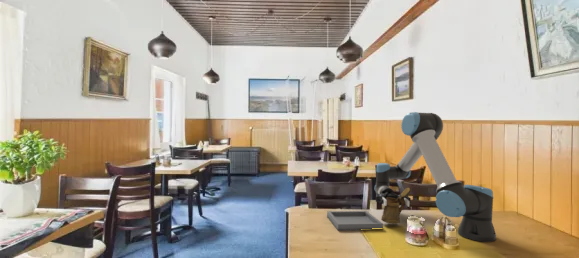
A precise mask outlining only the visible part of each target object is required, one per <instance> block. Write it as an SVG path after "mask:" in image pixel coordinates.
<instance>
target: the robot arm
mask: <svg viewBox="0 0 579 258" xmlns="http://www.w3.org/2000/svg"><path fill="white" fill-rule="evenodd" d="M400 125H401V131H402V133H403V134H404V135H405V136H409V137H410V138H411V141H412V142H413V143H412V144H411V145H410V146H409V148H408V150H407V151H406V152H405V154H404V156H402V158H401V159H400V161H399V162H398V163H397V165H395V166H393V165H392V166H391V165H390V164H389V163H384V162H380V163H379V162H378V163H377V164H376V169H375V175H376V176H375V178H376V181H375V185H374V191H375V202H376V203H379V204H380V205H381V204H383V205H384V207H385V206H387V200H386V198H395V199H397V198H400V197H401V193H399V194H397V193H395V191H394V189H392V188H391V187H390V182H391V181H390V180H403V179H408V178H410V176H411V174H412V170H411V169H412V168H413V167H414V166H415V164H416V163H417V162H418V161H419V159H420V158H421V157H423V159H424V161H425V163H426V165H427V167H428V169H429V172H430V174H431V176H432V178H433V180H434V182H435V185H436V186H437V188H436V190H435V192H436V196H435V205H436V208H437V209H438V211H439V212H441V214H443V216H447V217H449V218H461V217H462V218H461V221H460V224H459V226H458V227H457V230H458V231H457V233H459V234H460V235H459V234H458V235H459V236H461V235H462V236H461V237H463V236H464V237H463V238H465V237H466V238H465V239H468V238H469V239H468V240H471V239H472V241H476V242H486V243H488V242H489V243H490V242H494V241H496V239H497V234H496V230H495V227H494V224H493V209H494V207H493V205H494V192H493V190H492V189H491V188H489V187H484V186H480V185H473V184H463V182H462V181H460V180H457V178H456V177H455V174H454V173H453V171H452V169H451V166H450V165H449V163H448V161H447V159H446V156H445V155H444V153H443V151H442V149H441V147H440V145H439V143H438V141H437V140H438V139H439V137H440V136H441V134H442V133H443V129H444V123H443V120H442V118H441V117H440V116H439V115H438V114H436V113H433V112H416V111H413V112H408V113H406V114H405V115H404V116H403V118H402V120H401V124H400ZM411 199H412V197H410V196H407V197H405V198H404V200H405V206H406V207H410V204H411V202H412V200H411Z"/></svg>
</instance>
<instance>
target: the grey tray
mask: <svg viewBox="0 0 579 258" xmlns="http://www.w3.org/2000/svg"><path fill="white" fill-rule="evenodd" d="M326 218H327V219H328V220H329V221H330V222H331V224H332V225H333V226H334V228H335V229H336V230H337V231H338V232H342V231H346V232H347V231H348V232H349V231H362V230H361V229H372V228H383V229H384V223H383V222H382V221H380V220H379V219H377V218H376V217H375V216H374V215H372V214H371V213H370V212H369V211H367V210H339V211H337V210H332V211H329V210H328V211H326Z"/></svg>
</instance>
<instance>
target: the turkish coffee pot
mask: <svg viewBox="0 0 579 258" xmlns="http://www.w3.org/2000/svg"><path fill="white" fill-rule="evenodd" d="M411 192H412V186H409V187H406V188H404V190H403V191H402V192H401V193H400V194H401V197H400V198H397V199H395V198H386V200H387V206H385V205H384V207H383V211H382V215H381V218H380V220H381V222H384V223H387V224H393V225H398V224H400V223H401V219H400V215H401V213H402V212H403V209H405V206H406V205H405V200H404V198H405V197H409V195H410V193H411ZM400 204H401V206H400Z"/></svg>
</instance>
